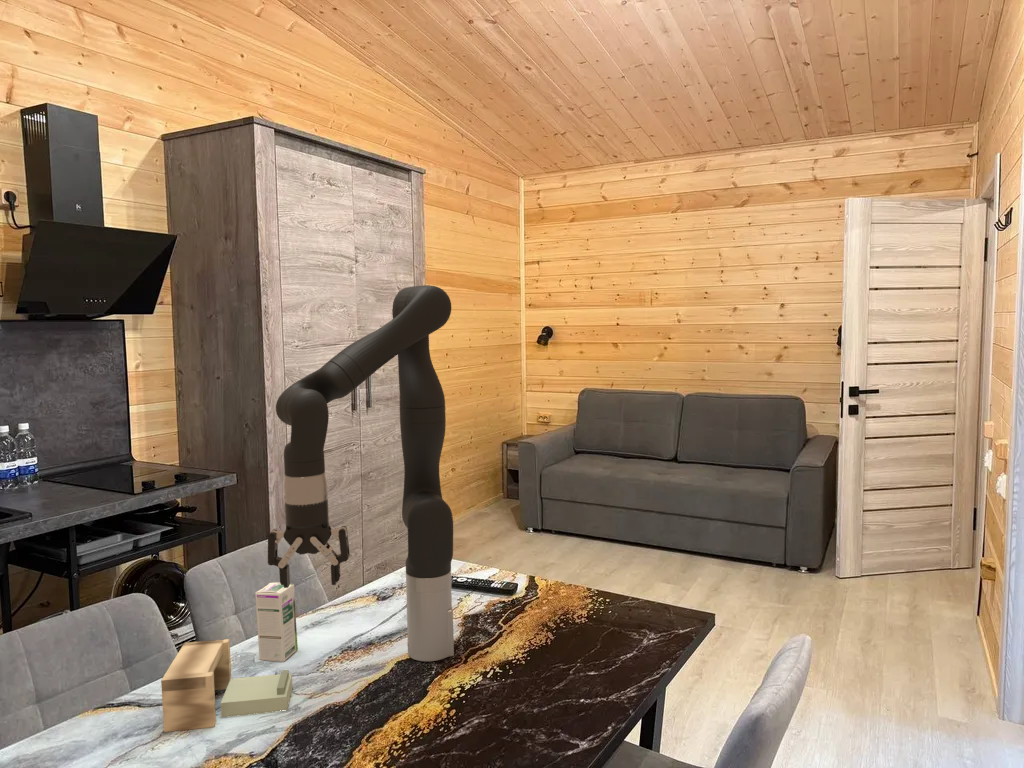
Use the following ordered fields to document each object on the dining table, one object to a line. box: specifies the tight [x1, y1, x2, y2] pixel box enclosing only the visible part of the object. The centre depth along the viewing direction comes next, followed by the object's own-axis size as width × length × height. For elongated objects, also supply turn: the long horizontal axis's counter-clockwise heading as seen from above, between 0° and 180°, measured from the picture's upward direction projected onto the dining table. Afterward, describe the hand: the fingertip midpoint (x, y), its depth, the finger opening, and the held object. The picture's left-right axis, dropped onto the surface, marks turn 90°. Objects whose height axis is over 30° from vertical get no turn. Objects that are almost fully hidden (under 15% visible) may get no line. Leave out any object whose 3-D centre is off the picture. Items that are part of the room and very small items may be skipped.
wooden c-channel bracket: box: [160, 638, 232, 733], centre depth 133 cm, size 8×15×9 cm, turn 10°
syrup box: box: [254, 581, 299, 663], centre depth 153 cm, size 6×6×14 cm
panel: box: [220, 669, 293, 718], centre depth 135 cm, size 11×9×4 cm
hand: (310, 585), depth 136 cm, fingers open, 8 cm apart
